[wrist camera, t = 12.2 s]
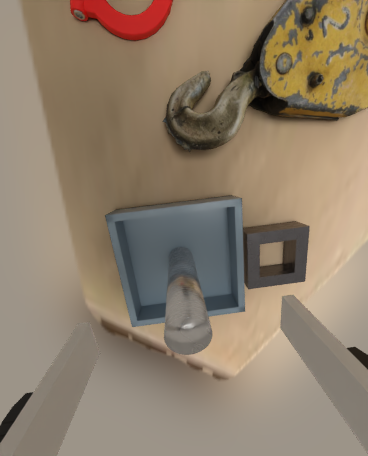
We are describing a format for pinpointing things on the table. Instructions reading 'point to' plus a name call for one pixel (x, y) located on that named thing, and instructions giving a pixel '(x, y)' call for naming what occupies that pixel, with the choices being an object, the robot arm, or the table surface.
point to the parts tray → (172, 238)
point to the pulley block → (284, 74)
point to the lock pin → (185, 306)
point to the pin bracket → (292, 256)
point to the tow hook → (123, 17)
